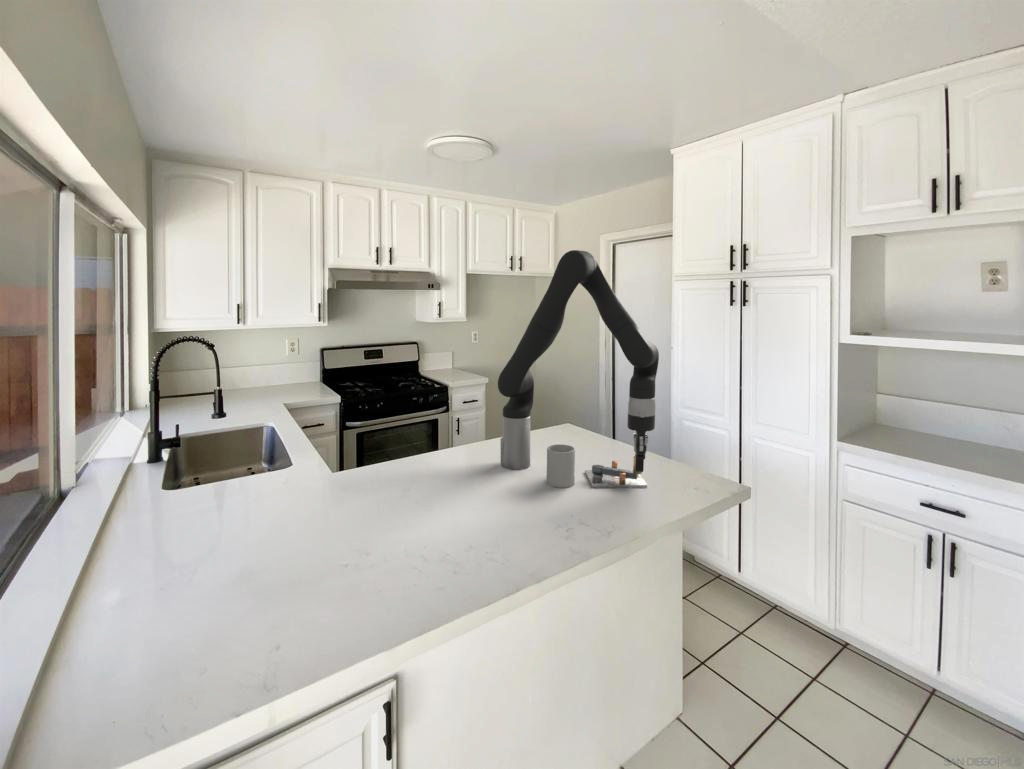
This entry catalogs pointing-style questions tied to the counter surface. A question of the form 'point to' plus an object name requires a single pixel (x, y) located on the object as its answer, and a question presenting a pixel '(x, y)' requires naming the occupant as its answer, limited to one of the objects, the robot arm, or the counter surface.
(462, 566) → the counter surface
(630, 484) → the crank base
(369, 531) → the counter surface
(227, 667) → the counter surface
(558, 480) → the mug
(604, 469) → the crank lever
